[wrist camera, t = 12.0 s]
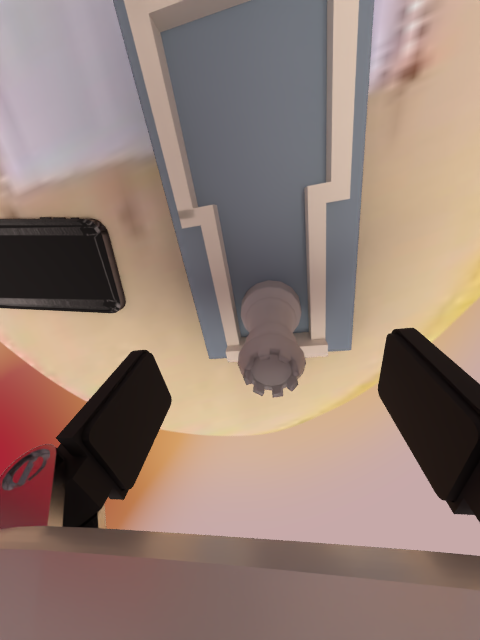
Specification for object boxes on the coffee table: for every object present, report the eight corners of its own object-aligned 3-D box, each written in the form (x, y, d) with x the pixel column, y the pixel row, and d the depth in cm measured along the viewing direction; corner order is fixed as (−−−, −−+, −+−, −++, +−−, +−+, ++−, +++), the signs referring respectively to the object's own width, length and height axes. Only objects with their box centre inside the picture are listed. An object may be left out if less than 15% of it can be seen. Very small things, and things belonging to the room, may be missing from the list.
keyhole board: (127, 11, 12) (76, -60, 9) (367, -82, 10) (412, -219, 7) (213, 349, 21) (203, 373, 18) (345, 340, 19) (360, 365, 16)
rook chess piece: (267, 265, 16) (266, 312, 8) (312, 303, 16) (346, 375, 9) (230, 309, 17) (203, 377, 10) (272, 341, 18) (274, 425, 11)
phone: (123, 313, 20) (-20, 307, 21) (130, 308, 21) (-8, 302, 22) (97, 217, 16) (-73, 218, 18) (107, 216, 17) (-55, 217, 19)
